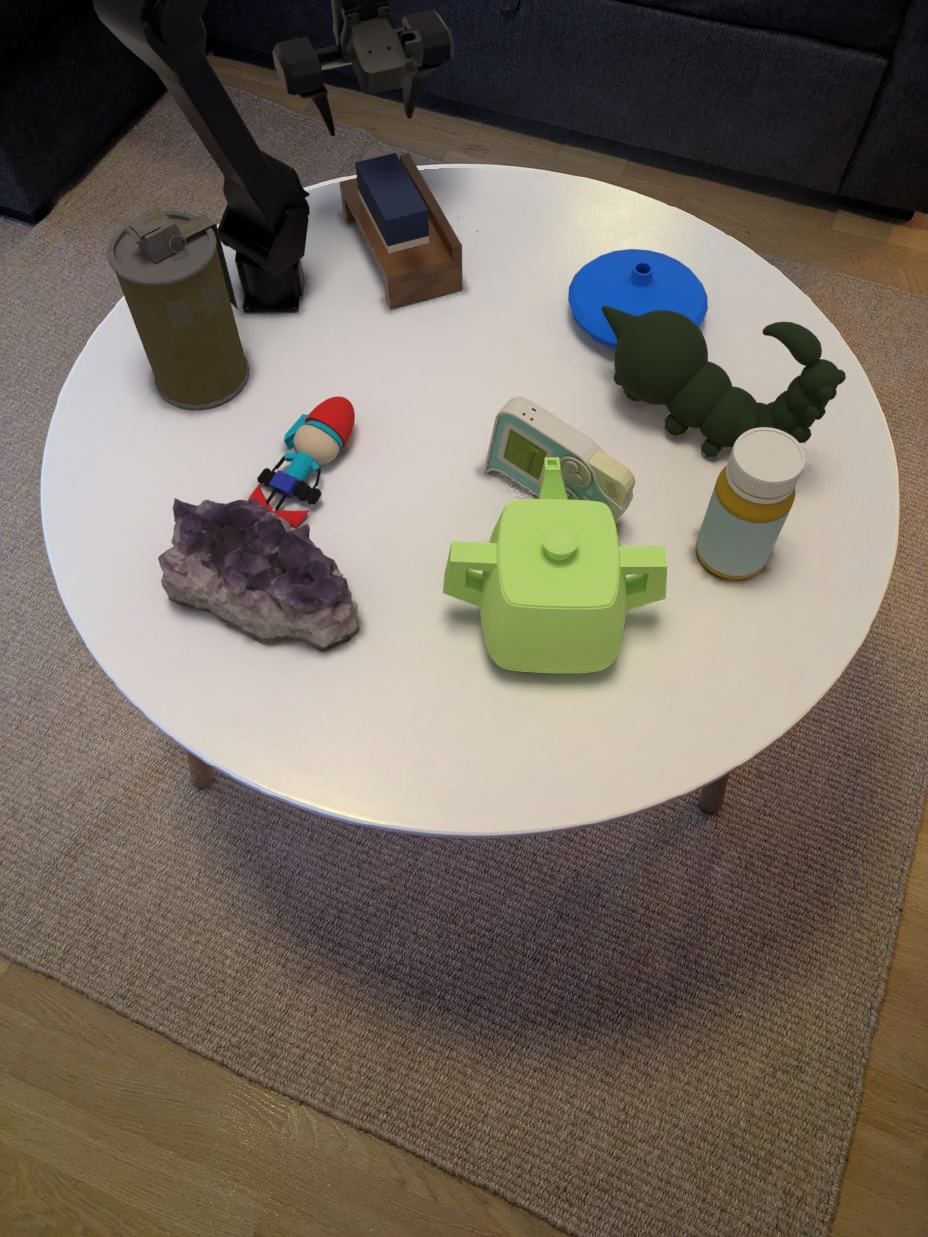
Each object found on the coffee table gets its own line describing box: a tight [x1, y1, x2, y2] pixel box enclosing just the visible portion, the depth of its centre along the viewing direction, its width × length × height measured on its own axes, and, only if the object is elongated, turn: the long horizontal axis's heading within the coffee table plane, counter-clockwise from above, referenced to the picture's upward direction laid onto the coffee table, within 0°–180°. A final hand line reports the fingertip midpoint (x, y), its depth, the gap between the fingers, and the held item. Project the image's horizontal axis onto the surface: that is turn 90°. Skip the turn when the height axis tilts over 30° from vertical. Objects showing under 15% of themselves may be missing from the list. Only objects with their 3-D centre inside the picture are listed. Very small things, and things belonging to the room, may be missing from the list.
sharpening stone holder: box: [339, 152, 463, 311], centre depth 119 cm, size 9×18×6 cm, turn 21°
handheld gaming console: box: [483, 396, 636, 525], centre depth 98 cm, size 11×3×15 cm
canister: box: [106, 208, 250, 410], centre depth 103 cm, size 11×10×20 cm
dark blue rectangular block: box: [354, 152, 429, 254], centre depth 115 cm, size 11×5×4 cm, turn 21°
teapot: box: [442, 457, 668, 674], centre depth 91 cm, size 18×20×13 cm
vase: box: [567, 248, 709, 350], centre depth 113 cm, size 16×16×7 cm
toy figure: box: [248, 396, 356, 528], centre depth 103 cm, size 8×5×15 cm
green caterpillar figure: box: [602, 306, 847, 458], centre depth 100 cm, size 9×19×25 cm
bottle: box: [695, 427, 806, 580], centre depth 92 cm, size 7×7×15 cm
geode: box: [157, 497, 360, 651], centre depth 93 cm, size 20×12×10 cm, turn 65°
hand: (370, 125), depth 115 cm, fingers open, 9 cm apart
